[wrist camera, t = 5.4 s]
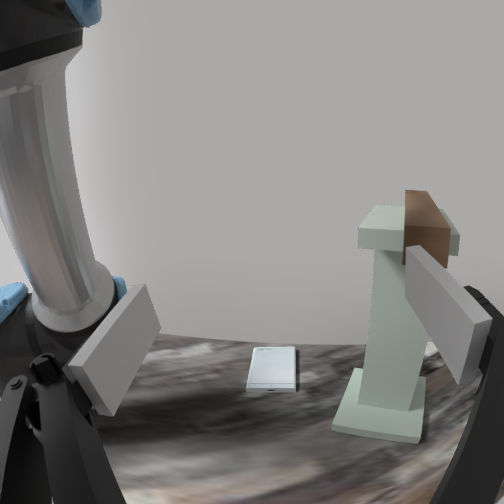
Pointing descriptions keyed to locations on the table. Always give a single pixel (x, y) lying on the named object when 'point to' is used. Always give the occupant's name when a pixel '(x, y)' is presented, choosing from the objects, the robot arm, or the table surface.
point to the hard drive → (272, 370)
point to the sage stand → (388, 341)
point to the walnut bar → (425, 227)
